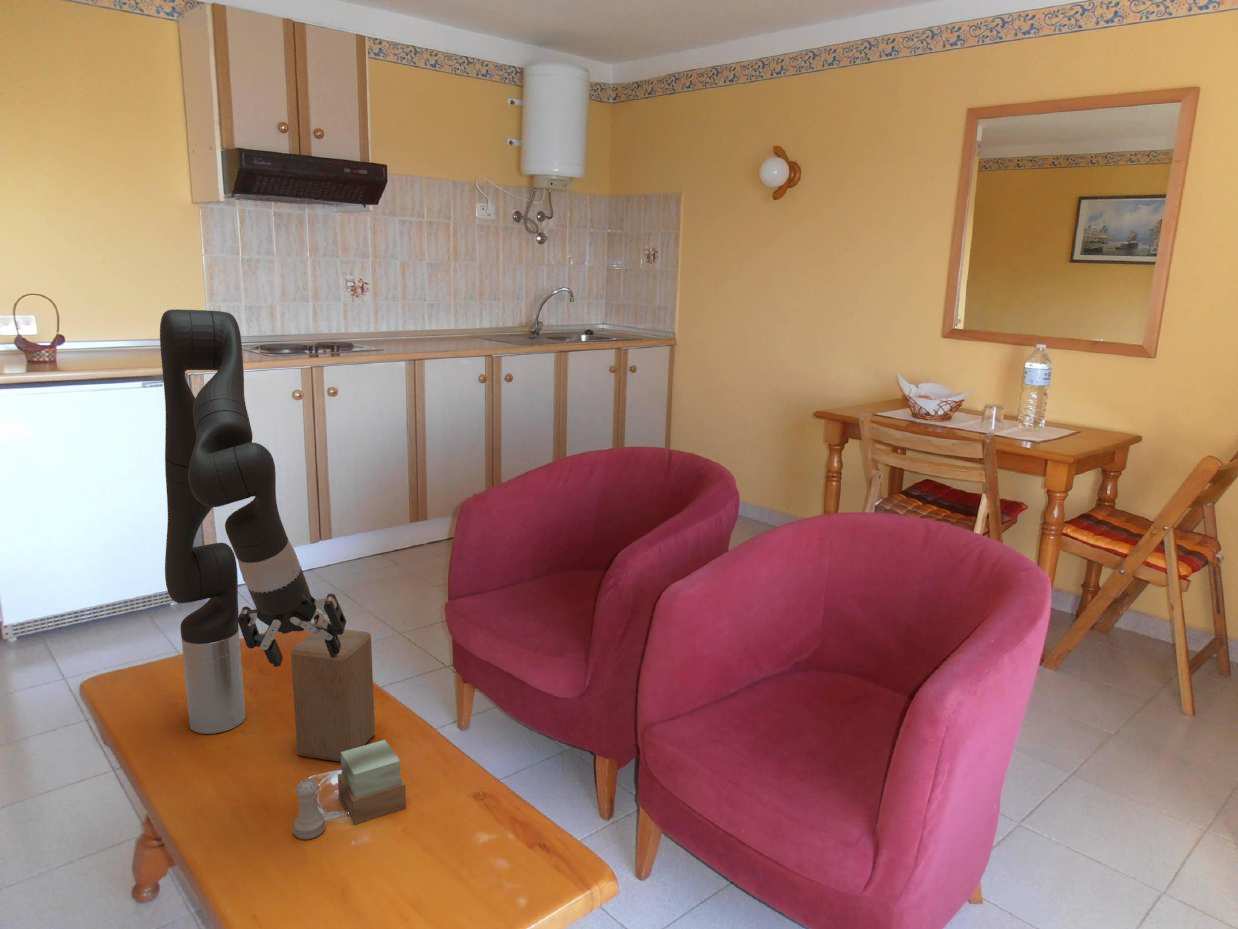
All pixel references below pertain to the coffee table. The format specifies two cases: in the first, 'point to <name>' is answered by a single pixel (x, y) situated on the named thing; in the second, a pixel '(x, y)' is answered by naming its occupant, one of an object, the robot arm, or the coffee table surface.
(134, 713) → the coffee table surface
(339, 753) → the block
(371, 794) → the tower base
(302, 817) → the rook chess piece
